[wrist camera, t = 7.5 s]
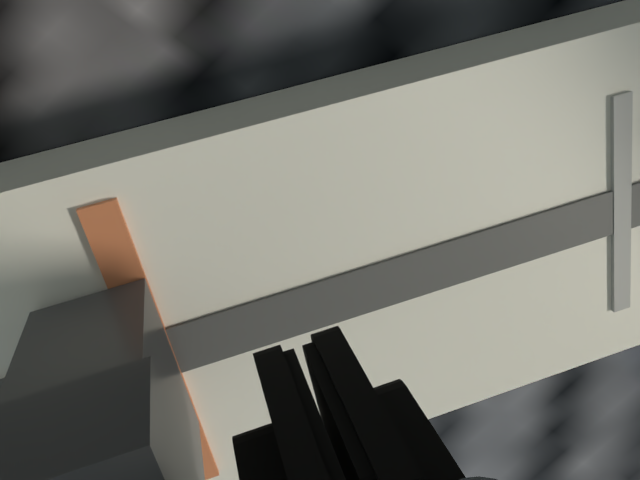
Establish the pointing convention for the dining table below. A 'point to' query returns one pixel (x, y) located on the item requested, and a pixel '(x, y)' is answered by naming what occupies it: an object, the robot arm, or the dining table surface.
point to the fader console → (363, 222)
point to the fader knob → (97, 395)
